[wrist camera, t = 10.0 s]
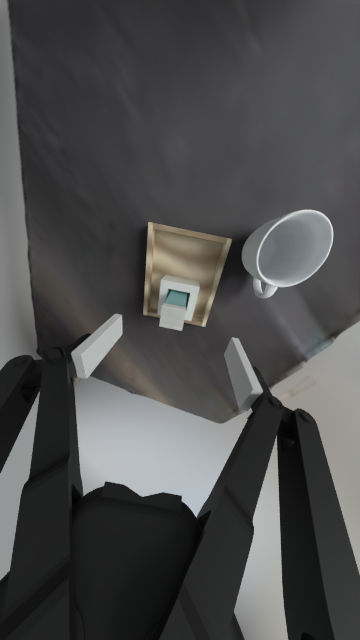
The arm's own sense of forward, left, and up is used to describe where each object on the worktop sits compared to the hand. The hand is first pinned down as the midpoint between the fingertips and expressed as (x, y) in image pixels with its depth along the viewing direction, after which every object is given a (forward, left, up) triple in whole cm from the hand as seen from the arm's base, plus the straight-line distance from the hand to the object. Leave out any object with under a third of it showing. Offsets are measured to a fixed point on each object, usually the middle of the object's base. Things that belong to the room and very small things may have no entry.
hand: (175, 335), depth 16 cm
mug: (-10, +16, -25) cm, 31 cm away
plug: (+3, -1, -21) cm, 21 cm away
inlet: (+3, -1, -25) cm, 25 cm away
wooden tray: (-1, -1, -25) cm, 25 cm away
